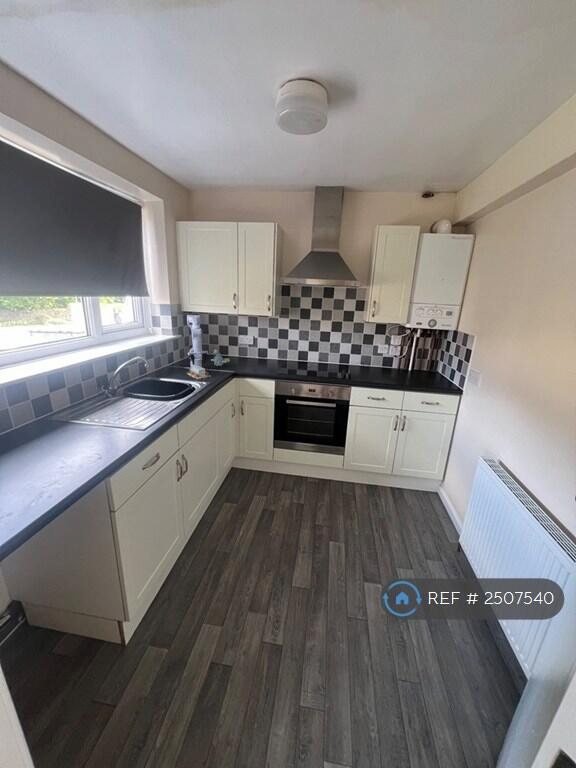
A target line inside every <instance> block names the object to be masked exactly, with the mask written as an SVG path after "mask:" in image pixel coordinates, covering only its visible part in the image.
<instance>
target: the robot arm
mask: <svg viewBox="0 0 576 768" xmlns="http://www.w3.org/2000/svg"><path fill="white" fill-rule="evenodd" d="M186 323H187V326H188V328H190V330H191V341H192V347H191V348H190V349H189V352H187V355H188V357H189V360H190V362H189V364H190V368H189V371H190V370H191V371H193V368H192V367H196V366H200V367H202V368H203V366H202V364H203V365H204V364H205V363H206V358H208V357H207V356H208V354H209V351H208V350H203V346H202V345H203V344H202V343H203V341H202V340H203V339H202V338H203V330H202V328H201V323H202V322H201V315H200V314H197V315H196V314H194V315H192V314H187V315H186Z"/></svg>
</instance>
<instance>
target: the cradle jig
mask: <svg viewBox="0 0 576 768" xmlns="http://www.w3.org/2000/svg"><path fill="white" fill-rule="evenodd" d="M186 375H188V376H190V377H192V378H194V379H195V378H196V379H195V380H202V379H201V378H203V379H207V378H208V377H210V378H212V375H210V373H209V372H208V371H205V376H199V374H197V373H195V372H193V371H191V370H190V369H189V370H188V372H186ZM208 379H209V378H208Z"/></svg>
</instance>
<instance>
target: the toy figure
mask: <svg viewBox="0 0 576 768" xmlns="http://www.w3.org/2000/svg"><path fill="white" fill-rule="evenodd" d="M218 351H219V350H217V349H214V350H213V354H215V356H214V358H212V359H210V361H211V362H214V364H213V365H215V367H218V366H220V367H222V366H223V364H225V363H228V362H230V358H225V357H224V358H223V356H222V355H221V353H220V352H218Z"/></svg>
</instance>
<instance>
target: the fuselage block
mask: <svg viewBox="0 0 576 768" xmlns="http://www.w3.org/2000/svg"><path fill="white" fill-rule="evenodd" d="M192 368H193V372H195V373H197V374H199V376H205V372H206V368H204V367H203V366H202V367H200V366H196V367H192Z"/></svg>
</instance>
